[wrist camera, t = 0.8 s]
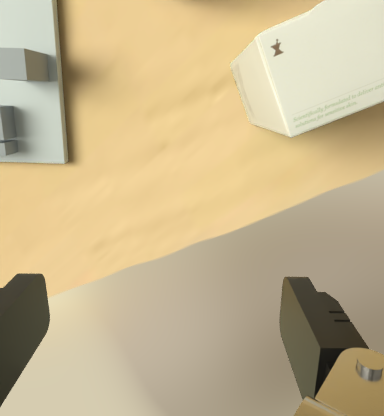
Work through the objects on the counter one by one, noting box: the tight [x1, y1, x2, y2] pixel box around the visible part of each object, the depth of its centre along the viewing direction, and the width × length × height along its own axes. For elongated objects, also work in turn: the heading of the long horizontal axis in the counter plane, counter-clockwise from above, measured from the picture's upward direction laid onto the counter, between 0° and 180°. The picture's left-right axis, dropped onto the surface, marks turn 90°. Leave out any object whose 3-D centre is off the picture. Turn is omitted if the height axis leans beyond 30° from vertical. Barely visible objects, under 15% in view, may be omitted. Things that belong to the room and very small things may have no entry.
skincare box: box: [230, 0, 384, 138], centre depth 28 cm, size 8×7×16 cm
